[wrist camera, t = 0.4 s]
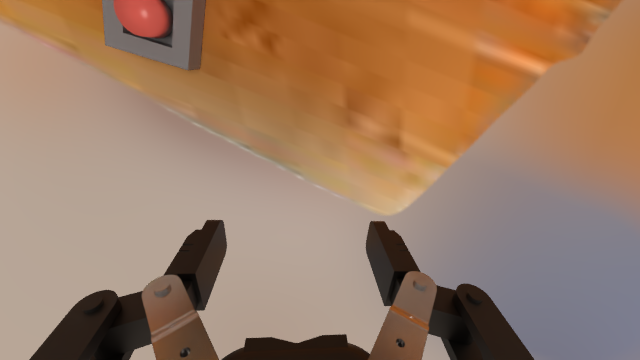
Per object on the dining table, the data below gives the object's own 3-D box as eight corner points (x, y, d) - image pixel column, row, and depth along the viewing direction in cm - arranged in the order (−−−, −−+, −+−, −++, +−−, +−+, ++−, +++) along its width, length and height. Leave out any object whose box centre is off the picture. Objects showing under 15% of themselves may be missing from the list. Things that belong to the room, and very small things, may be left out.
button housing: (124, -40, 28) (98, -54, 24) (206, -9, 30) (193, -18, 26) (127, 46, 32) (105, 45, 28) (199, 68, 33) (188, 70, 30)
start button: (131, -15, 27) (112, -22, 24) (174, 1, 27) (160, -5, 25) (132, 30, 28) (114, 28, 26) (172, 43, 29) (159, 42, 27)
